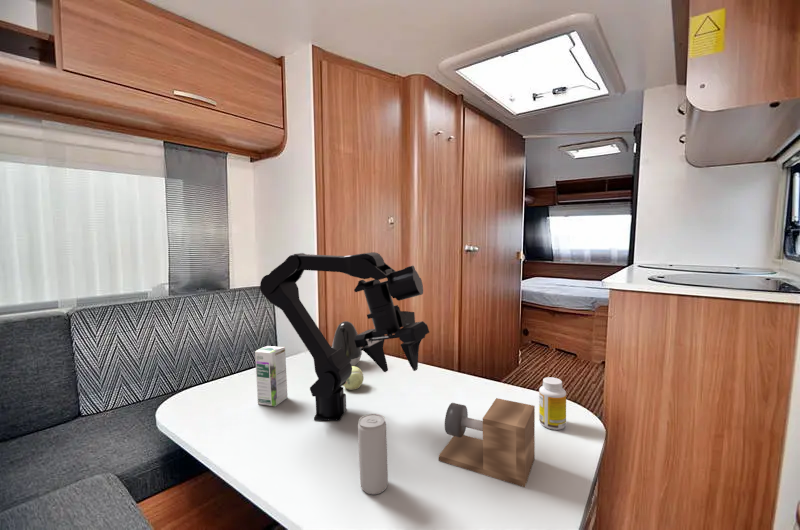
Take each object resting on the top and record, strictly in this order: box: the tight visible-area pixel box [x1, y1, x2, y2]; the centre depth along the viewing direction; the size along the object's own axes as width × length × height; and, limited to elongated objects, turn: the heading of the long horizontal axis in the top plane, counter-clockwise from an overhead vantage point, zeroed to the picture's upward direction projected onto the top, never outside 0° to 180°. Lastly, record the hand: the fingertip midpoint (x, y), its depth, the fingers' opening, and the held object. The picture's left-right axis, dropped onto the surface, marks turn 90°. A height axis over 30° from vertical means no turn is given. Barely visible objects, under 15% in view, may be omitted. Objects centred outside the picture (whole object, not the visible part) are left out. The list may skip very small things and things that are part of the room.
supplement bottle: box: [538, 376, 567, 431], centre depth 81 cm, size 6×6×10 cm
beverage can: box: [357, 413, 389, 496], centre depth 62 cm, size 5×5×12 cm
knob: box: [444, 402, 483, 438], centre depth 70 cm, size 8×6×6 cm
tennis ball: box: [342, 365, 365, 391], centre depth 104 cm, size 6×7×7 cm
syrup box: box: [254, 345, 289, 407], centre depth 97 cm, size 6×6×14 cm
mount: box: [438, 397, 536, 488], centre depth 69 cm, size 16×9×10 cm, turn 60°
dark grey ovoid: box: [331, 320, 363, 367], centre depth 122 cm, size 10×10×15 cm
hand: (400, 370), depth 82 cm, fingers open, 9 cm apart
